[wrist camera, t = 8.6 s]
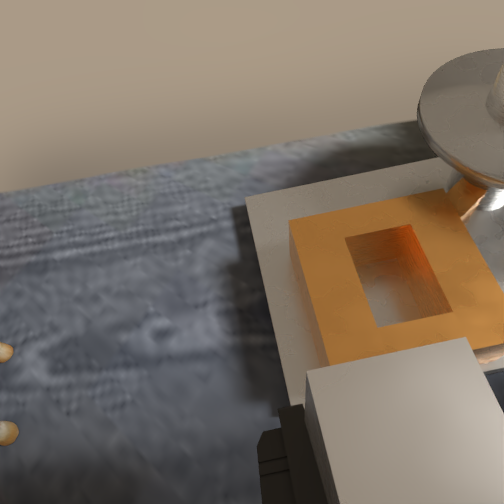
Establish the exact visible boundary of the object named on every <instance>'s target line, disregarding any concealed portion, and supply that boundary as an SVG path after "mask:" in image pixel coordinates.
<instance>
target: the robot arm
mask: <svg viewBox="0 0 504 504" xmlns="http://www.w3.org/2000/svg"><path fill="white" fill-rule="evenodd" d="M278 412H279V418H280V423H281V428H278V429H273V430H269V431H264V432H263V433H262V436H261V438H260V440H259V443H258V445H257V453H258V463H259V474H260V484H261V495H262V504H328V501H327V497H326V494H325V490H324V487H323V483H322V480H321V476H320V473H319V469H318V466H317V462H316V459H315V455H314V452H313V448H312V445H311V441H310V438H309V434H308V431H307V427H306V424H305V420H304V418H305V409H304V406H303V403H302V404H297V405H292V406H288V407H283V408H279V409H278Z"/></svg>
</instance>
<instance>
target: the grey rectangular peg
mask: <svg viewBox="0 0 504 504" xmlns="http://www.w3.org/2000/svg"><path fill="white" fill-rule="evenodd" d="M304 420H305V424H306V427H307V431H308V434H309V438H310V441H311V445H312V448H313V452H314V455H315V459H316V462H317V466H318V469H319V473H320V476H321V480H322V483H323V487H324V490H325V494H326V497H327V501H328V504H504V413H503V411H502V409H501V407H500V405H499V403H498V401H497V399H496V397H495V395H494V393H493V391H492V389H491V387H490V385H489V383H488V381H487V379H486V377H485V375H484V373H483V371H482V369H481V367H480V365H479V363H478V361H477V359H476V356H475V354H474V352H473V350H472V348H471V346H470V344H469V342H468V340H467V338H466V337H463V338H458V339H453V340H449V341H444V342H439V343H435V344H430V345H425V346H421V347H416V348H411V349H407V350H402V351H397V352H393V353H388V354H383V355H379V356H374V357H369V358H365V359H360V360H355V361H351V362H346V363H341V364H337V365H332V366H327V367H323V368H318V369H313V370H309V371H306V391H305V418H304Z"/></svg>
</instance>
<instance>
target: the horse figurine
mask: <svg viewBox="0 0 504 504" xmlns="http://www.w3.org/2000/svg"><path fill="white" fill-rule="evenodd" d="M12 355H13V347H12V346H11V345H8V344H5V343H1V342H0V362H1V363H2V362H6V361H7V360H9V359H10V358H11V356H12ZM18 434H19V430H18V427H17V425H15V424H14V423H12V422H9V421H0V445H3V446H5V445H10V444H12V443H13V442H14V441H15V439H16V438H17V436H18Z"/></svg>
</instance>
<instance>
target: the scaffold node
mask: <svg viewBox="0 0 504 504" xmlns="http://www.w3.org/2000/svg"><path fill="white" fill-rule="evenodd" d="M417 121H418V125H419V129H420V131H421V134H422V136H423V138H424V140H425V141H426V142H427V144H428V145H429V147H430V148H431V149H432V150H433V151H434V152H435V153H436V155H437V156H438V157H437V158H432V159H427V160H423V161H418V162H413V163H408V164H403V165H398V166H394V167H389V168H384V169H379V170H374V171H369V172H365V173H360V174H355V175H350V176H345V177H340V178H336V179H331V180H326V181H321V182H316V183H311V184H307V185H302V186H297V187H292V188H287V189H282V190H278V191H273V192H268V193H263V194H258V195H253V196H249V197H245V202H246V208H247V212H248V217H249V221H250V226H251V230H252V235H253V239H254V244H255V249H256V253H257V258H258V262H259V267H260V271H261V276H262V280H263V285H264V289H265V294H266V298H267V303H268V307H269V312H270V316H271V321H272V325H273V330H274V334H275V339H276V343H277V348H278V352H279V357H280V361H281V366H282V370H283V375H284V379H285V384H286V388H287V393H288V397H289V402H290V406H292V405H297V404H302V403H303V406H304V409H305V391H306V371H309V370H313V369H318V368H323V367H327V366H332V365H337V364H341V363H346V362H351V361H355V360H360V359H365V358H369V357H374V356H379V355H383V354H388V353H393V352H397V351H402V350H407V349H411V348H416V347H421V346H425V345H430V344H435V343H439V342H444V341H449V340H453V339H458V338H463V337H466V338H467V340H468V342H469V344H470V346H471V348H472V350H473V352H474V354H475V356H476V359H477V361H478V363H479V365H480V367H481V369H482V371H483V373H484V375H489V374H494V373H499V372H503V371H504V48H503V49H489V50H483V51H477V52H473V53H469V54H466V55H463V56H460V57H457V58H455V59H453V60H451V61H449V62H447V63H446V64H444V65H443V66H441V67H440V68H438V69H437V70H436V71H435V72H434V73H433V74H432V75H431V76H430V77H429V79H428V80H427V82H426V84H425V85H424V88H423V91H422V94H421V97H420V100H419V104H418V108H417Z"/></svg>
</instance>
